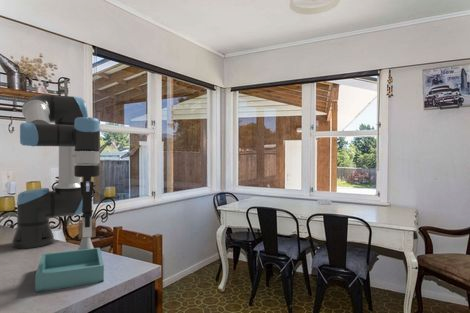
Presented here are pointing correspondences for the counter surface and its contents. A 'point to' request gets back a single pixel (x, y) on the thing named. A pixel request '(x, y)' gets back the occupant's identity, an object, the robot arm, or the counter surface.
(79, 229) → the walnut cube
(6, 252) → the counter surface
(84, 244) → the flask
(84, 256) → the tote
